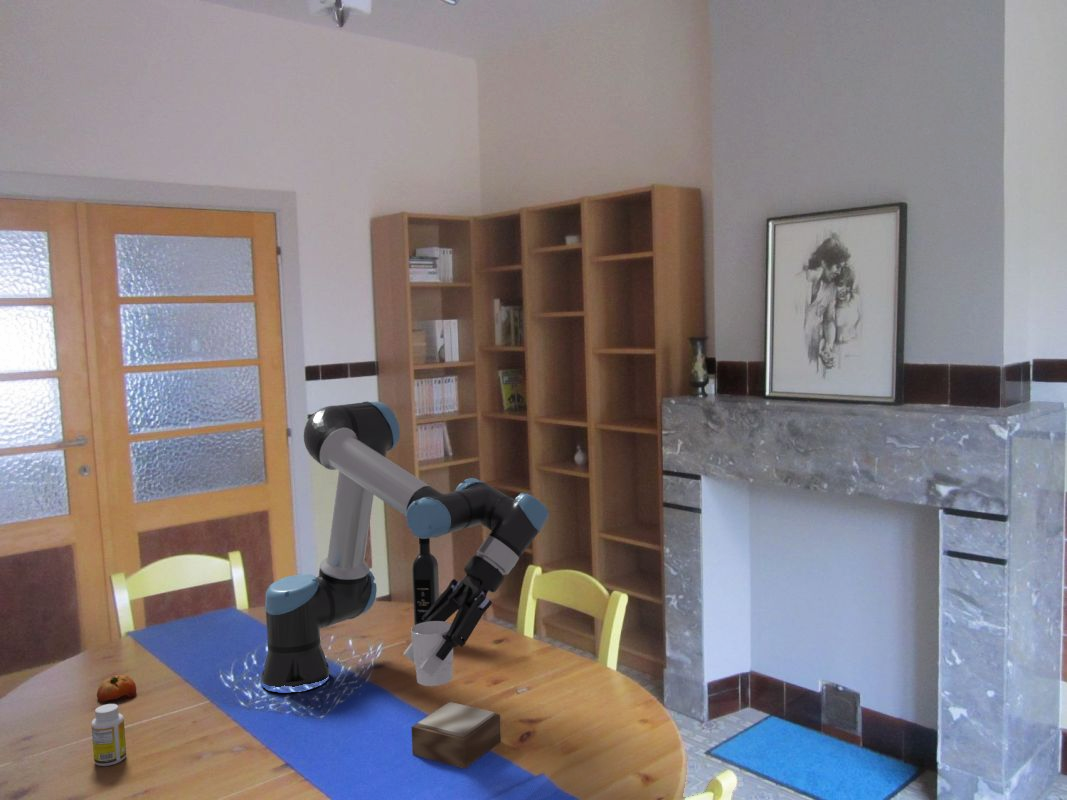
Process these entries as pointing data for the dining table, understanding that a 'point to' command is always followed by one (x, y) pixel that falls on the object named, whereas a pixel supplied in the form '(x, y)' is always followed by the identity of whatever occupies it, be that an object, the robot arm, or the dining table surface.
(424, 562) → the wine bottle
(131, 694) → the tomato
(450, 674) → the white cup
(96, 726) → the supplement bottle
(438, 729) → the base
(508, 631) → the dining table surface
